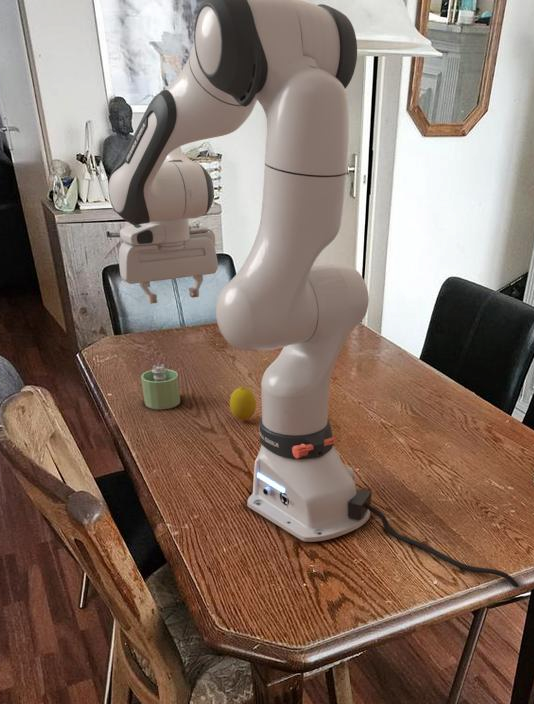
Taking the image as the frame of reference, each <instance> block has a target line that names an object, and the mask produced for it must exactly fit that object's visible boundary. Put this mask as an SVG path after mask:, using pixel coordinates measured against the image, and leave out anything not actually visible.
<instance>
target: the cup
mask: <svg viewBox="0 0 534 704" xmlns="http://www.w3.org/2000/svg"><path fill="white" fill-rule="evenodd" d="M166 369H167V371H166V373H165V375H166V381H162V382H155V379H154V373H153V372H152V369H150V370H146V371H145V372H143V373H142V374H141V376H140V377H141V378H140V379H141V380H140V381H141V387H142V393H143V394H142V395H143V401H144V406H146V407H147V408H149V409H152V410H169V409H173V408H176V407H178V406H179V405H180V403H181V392H180V382H179V374H178V372H177V371H176V370H173V369H168V368H166Z"/></svg>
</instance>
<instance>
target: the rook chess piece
mask: <svg viewBox="0 0 534 704" xmlns="http://www.w3.org/2000/svg"><path fill="white" fill-rule="evenodd" d="M167 369H168V368H166V367H165V365H164V364H159V363H158V364H154V365H153V366H152V369H151V370H152V372H153V373H154V379H155V382H162V381H166V375H165V373H166V371H167Z"/></svg>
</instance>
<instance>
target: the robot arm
mask: <svg viewBox="0 0 534 704" xmlns="http://www.w3.org/2000/svg"><path fill="white" fill-rule="evenodd" d="M196 13H197V14H196V16H195V22H194V31H193V33H194V34H193V44H192V47H191V50H190V53H189V55H188V57H187V61H186V62H185V64H184V66H183V68H182V69H181V70H180V72H179V73H178V74H177V76H176V77H175V78H174V79H173V80H172V81H171V82H170V84H168V85H167V86H166V87H165V88H164V89H162V90H161V91H160V92H159V93H157V94H156V95H155V96H153V98H152V100H151V101H150V103H149V104H148V106H147V108H146V110H145V112H144V114H143V116H142V118H141V120H140V122H139V123H138V125H137V128H136V130H135V132H134V134H133V136H132V138H131V140H130V142H129V144H128V147H127V149H126V151H125V153H124V155H123V156H122V158H121V159H120V160H119V161H118V163H117V164H116V165H115V166H114V168H113V169H112V171H111V172H110V175H109V178H108V183H107V184H108V186H107V187H108V189H107V190H108V198H109V202H110V204H111V207H112V209H113V211H114V212H115V213H116V214H117V215H118V216H119V217H120V218H122V220H124V221H126V222H127V223H128V224H130V225H127V226H125V227H123V228H121V229H120V230H119V236H120V239H121V240H122V241H123V242H122V243H121V245H119V248H118V249H119V250H118V264H119V265H118V267H119V274H120V277H121V279H123V281H124V282H126V283H127V284H130V285H135V284H139V287H140V288H141V289H142V291H143V292H144V293H145V294H146V301H147V303H148V304H149V305H152V304H157V303H158V300H157V298H158V297H157V294H156V293H154V292H151V290H150V289H149V288H151V282H158V281H166V280H175V279H183V278H190V277H192V279H193V284H192V286H191V287H188V295H189V297H190V298H192V299H193V298H199V297H200V288H201V286H202V283H203V281H204V276H206V275H212V274H214V275H215V274H216V273H217V271H218V269H219V264H218V263H219V262H218V257H217V251H216V247H215V246H216V236H215V233H214V231H213V230H212V229H210V228H209V227H208V226H200V227H190V223H189V222H190V221H189V220H190V219H198V218H200V217H205V216H206V215H207V214H208V212H209V211H210V210H211V207H212V205H213V203H214V199H215V198H214V197H215V194H214V193H215V191H214V184H213V183H214V182H213V178H212V176H211V174H210V173H209V172H208V170H207V169H206V168H205V167H204V166H203V165H201V164H200V163H198V162H195V161H193V160H192V159H190V158H188V157H187V156H186V155H185V154H184V152H182V148H181V147H183V146H185V145H188V144H191V143H195V142H198V141H203V140H208V139H215V138H218V137H224V136H227V135H230V134H232V133H235V132H236V131H237V130H238V129H239V128H240V127H242V125H243V124H245V123H246V121H247V120H248V119H249V117H250V116H251V114H252V112H253V110H254V109H255V106H256V104H257V102H258V103H259V105H261V107H262V109H263V111H264V114H265V118H266V138H265V141H266V142H265V150H264V171H263V173H264V174H263V188H262V202H261V212H260V220H259V225H258V230H257V233H256V236H255V238H254V241H253V245H252V247H251V249H250V251H249V254H248V255H247V257H246V259H245V261H244V263H243V264H242V266H241V267H240V268H239V270H238V271H237V273H236V274H235V275H234V276H233V278H231V279H230V281H228V282H227V283H226V284H225V285H224V286H223V287H222V289H220V292H219V294H218V296H217V299H216V303H215V318H216V323H217V327H218V329H219V332H220V334H221V335H222V337H223V338H224V340H225V341H226V342H227V343H228V344H229V345H230V346H231V347H232V348H234V349H236V350H238V351H244V352H245V351H249V352H263V351H265V352H267V351H272V350H276V349H281V348H282V349H281V352H280V353H279V355H278V356H277V357H276V359H274V361H273V362H271V364H270V365H268V367H267V368H266V369H265V370H264V373H263V375H262V377H261V384H260V393H261V395H260V396H261V397H260V398H261V417H260V419H259V426H258V435H259V442H260V444H261V445H260V449H259V451H258V454H257V456H256V458H255V461H254V465H253V466H254V468H253V481H252V482H253V483H252V493H251V495H249V497H248V498H247V502H246V505H247V507H248V508H249V509H250V510H252V511H254V512H255V513H257V514H258V515H260V516H262V517H264V518H265V519H267V520H268V521H270V522H272V523H273V524H274V525H276V526H278V527H279V528H281V529H282V530H284V531H285V532H287V533H289V534H291V535H292V536H294V537H296V539H299V540H300V541H302V542H304V543H313V542H315V543H317V542H323V541H328V540H331V539H336V538H338V537H341V536H343V535H346V534H349V533H350V532H353V531H356V530H357V529H359V528H360V527H362V526H364V525H365V524H366V523H367V522H368V521H369V519H370V518H371V512H372V513H373V514H376V515H377V516H378V517H379V518H380V519H381V521H382V525H383V528H384V529H385V531H387V533H389V534H390V535H391V536H392V537H394V538H396V539H398V540H400V541H402V542H404V543H407V544H410V545H413V546H416V547H418V548H421V549H423V550H425V551H427V552H428V553H430V554H432V555H434V556H436V557H438V558H439V559H441V560H443V561H445V562H446V563H449V564H451V565H453V566H455V567H458V568H460V569H462V570H465V571H469V572H474V573H480V574H489V575H495V576H499V577H502V578H503V579H505V580H507V582H508V583H510V584H511V585H512V586H513V587H515V588H519V587H520V584H518V582H517V581H516V580H515V579H514V577H512V576H511V575H509V574H508V573H506V572H504V571H502V570H499V569H494V568H488V567H479V566H472V565H468V564H465V563H464V562H463V563H462V562H460V561H458V560H456V559H455V558H454V559H453V558H452V557H449V556H447V555H446V554H444V553H442V552H440V551H438V550H437V549H435V548H433V547H431V546H429V545H428V544H425V543H422V542H420V541H419V540H414V539H412V538H408V537H405V536H403V535H401V534H399V533H397V532H396V531H395V530H394V529H392V528H391V527H390V525H389V523H388V519H387V518H386V516H385V515H384V513H383V512H381V511H380V510H379V509H377V508H376V507H374V506H373V505H372V491H370V490H366V489H362V488H359V489H358V490H357V485H356V482H355V480H354V479H355V471H354V469H353V467H352V466H346V465H345V463H344V462H343V460H342V458H341V456H340V453H339V451H337V450H336V448H335V446H334V444H336V443H337V441H336V439H337V438H338V437H337V436H334V435H333V429H332V425H331V423H330V419H329V403H330V390H331V381H332V377H333V373H334V369H335V366H336V363H337V360H338V358H339V356H340V354H341V351H342V349H343V347H344V346H345V343H346V342H347V340H348V338H349V336H351V333H352V332H353V331H354V330H355V329H356V328H357V326H358V325H359V324H360V323H362V322H363V320H364V318H365V316H366V314H367V312H368V310H369V309H368V308H369V302H370V301H369V300H370V299H369V291H368V290H369V289H368V286H367V283H366V281H365V280H364V278H363V276H362V274H361V273H360V272H359V271H358V270H357V269H356V268H354V267H352V266H349V265H345V264H344V265H343V264H337V263H336V264H335V263H319V264H315V262H316V260H317V258H318V257H319V256H320V254H321V253H322V252H323V251H324V249H326V247H328V246H329V245H331V243H332V242H333V241H334V240H335V239H336V238H337V236H338V234H339V233H340V230H341V226H342V220H343V210H344V202H345V192H346V184H347V183H346V182H347V174H348V166H349V165H348V164H349V152H350V151H349V149H350V116H349V115H350V114H349V100H348V94H347V91H346V89H347V88H348V86H349V84H350V83H351V81H352V79H353V76H354V74H355V70H356V67H357V61H358V41H357V36H356V31H355V28H354V26H353V24H352V22H351V20H350V19H349V18H348V16H347V15H346V14H344V13H343V12H341V11H340V10H338V9H336V8H334V7H331V6H329V5H327V4H323V3H319V4H314V3H311V2H308V1H306V0H305V1H304V0H203V1H202V2H201V4H200V6H199V9H198V10H197V12H196Z"/></svg>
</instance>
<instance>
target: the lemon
mask: <svg viewBox="0 0 534 704" xmlns="http://www.w3.org/2000/svg"><path fill="white" fill-rule="evenodd" d="M229 408H230V412H231V414H232V415H233V417H235V418H236V419H238V420H240V421H242V422H245V421H247V420H249V419H250V418H252V417H253V416H254V414H255V412H256V409H257V401H256V397H255V395H254V393H253V391H252V390H250V389H249V388H247V387H244V386H240V387H238V388H236V389H235V390H234V391H232V393H231V394H230V398H229Z"/></svg>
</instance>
